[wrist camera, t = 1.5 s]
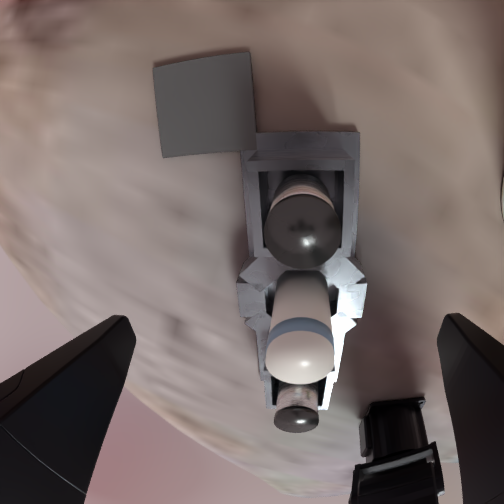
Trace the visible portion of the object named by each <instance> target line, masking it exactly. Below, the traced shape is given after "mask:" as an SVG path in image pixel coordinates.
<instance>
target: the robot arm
mask: <svg viewBox="0 0 504 504" xmlns="http://www.w3.org/2000/svg"><path fill="white" fill-rule="evenodd" d="M135 345H136V336H135V333H134V331H133V329H132V326H131V324H130V322H129V319H128V318H127V317H126V316H124V315H113V316H111V317H109V318H108V319H106V320H104V321H103V322H101V323H99V324H98V325H96V326H94V327H93V328H91V329H89V330H88V331H86V332H84V333H83V334H81V335H79V336H78V337H76V338H74V339H73V340H71V341H69V342H68V343H66V344H64V345H63V346H61V347H59V348H58V349H56V350H55V351H53V352H51V353H50V354H48V355H47V356H45V357H43V358H41V359H40V360H38V361H37V362H35V363H33V364H32V365H30V366H28V367H27V368H26V369H24V370H22V371H20V372H18V373H17V374H15V375H14V376H12V377H10V378H9V379H7V380H5V381H3V382H2V383H0V504H84V501H85V498H86V493H87V491H88V487H89V484H90V481H91V477H92V474H93V471H94V468H95V465H96V462H97V459H98V456H99V453H100V450H101V446H102V444H103V441H104V438H105V435H106V432H107V429H108V427H109V424H110V421H111V418H112V416H113V413H114V410H115V407H116V405H117V402H118V399H119V397H120V394H121V392H122V389H123V386H124V383H125V380H126V376H127V373H128V369H129V366H130V362H131V359H132V355H133V352H134V348H135ZM437 346H438V351H439V357H440V363H441V369H442V375H443V382H444V388H445V393H446V398H447V402H448V406H449V411H450V415H451V420H452V425H453V430H454V435H455V441H456V447H457V453H458V459H459V467H460V474H461V483H462V494H463V504H504V345H503V344H501V343H500V342H499V341H497V340H496V339H495V338H493V337H492V336H491V335H489V334H488V333H486V332H485V331H484V330H482V329H481V328H480V327H478V326H477V325H475V324H474V323H473V322H471V321H470V320H468V319H467V318H466V317H464V316H463V315H461V314H460V313H451V314H447V315H446V316H445V317H444V319H443V322H442V325H441V328H440V331H439V334H438V337H437ZM425 402H426V401H425V398H424V397H422V398H414V399H406V400H397V401H387V402H375V403H372V404H371V405H370V406H369V409H368V412H367V414H366V416H365V417H364V418H363V419H362V422H361V424H360V427H359V434H360V449H361V456H362V457H366V463H364V464H357V465H355V470H354V471H353V482H352V491H351V494H350V498H349V504H439V503H438V496H441V495H444V481H443V474H442V469H441V464H440V459H439V454H438V450H437V446H436V441H434V442H432V443H431V444H428V439H427V434H426V430H425V425H424V421H423V416H422V412H421V409H422V407H423V406H424V404H425ZM431 461H433V463H432V462H431Z"/></svg>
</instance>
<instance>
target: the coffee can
mask: <svg viewBox="0 0 504 504" xmlns="http://www.w3.org/2000/svg"><path fill="white" fill-rule="evenodd" d="M501 204H502V215H503V220H504V178H503V185H502V196H501Z"/></svg>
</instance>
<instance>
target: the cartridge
mask: <svg viewBox="0 0 504 504" xmlns="http://www.w3.org/2000/svg"><path fill="white" fill-rule="evenodd" d="M265 364H266V367H267V369H268V371H269V372H270V374H272V375H273V376H274V377H275V378H277V379H279V380H281V381H283V382H287V383H291V384H308V383H313V382H316V381H319V380H321V379H323V378H324V377H326V376H327V375H328V374H329V373H330V372H331V371H332V369H333V367H334V364H335V345H334V336H333V333H332V322H331V312H330V303H329V294H328V285H327V281H326V279H325V277H324V276H323V274H322V273H321V272H319V271H318V270H286V271H285V272H284V273H282V274H281V276H280V277H279V279H278V281H277V284H276V291H275V298H274V305H273V312H272V319H271V326H270V332H269V335H268V340H267V346H266V359H265Z"/></svg>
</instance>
